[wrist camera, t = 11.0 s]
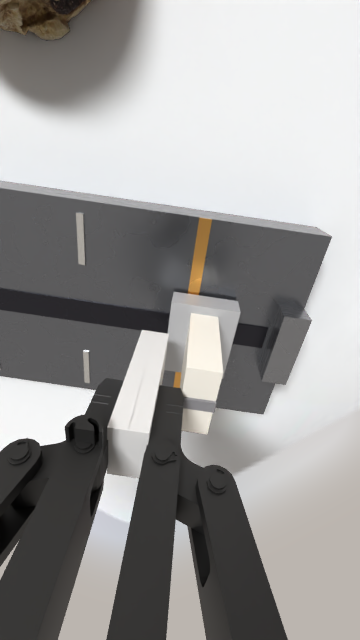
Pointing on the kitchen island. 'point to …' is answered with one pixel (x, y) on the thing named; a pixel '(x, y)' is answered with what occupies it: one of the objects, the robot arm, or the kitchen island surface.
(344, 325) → the kitchen island surface
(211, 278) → the console
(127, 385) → the robot arm
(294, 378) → the kitchen island surface
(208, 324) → the fader
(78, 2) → the bread roll
